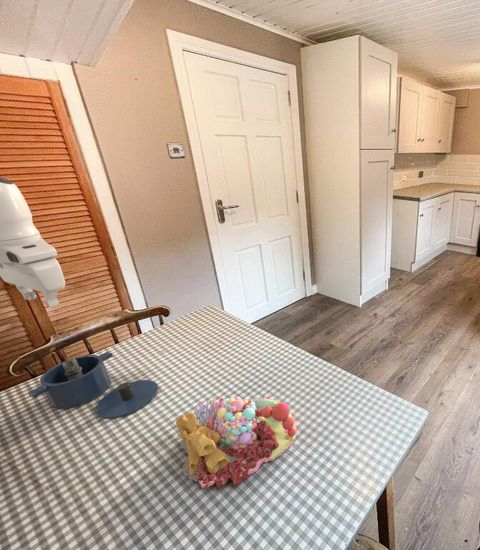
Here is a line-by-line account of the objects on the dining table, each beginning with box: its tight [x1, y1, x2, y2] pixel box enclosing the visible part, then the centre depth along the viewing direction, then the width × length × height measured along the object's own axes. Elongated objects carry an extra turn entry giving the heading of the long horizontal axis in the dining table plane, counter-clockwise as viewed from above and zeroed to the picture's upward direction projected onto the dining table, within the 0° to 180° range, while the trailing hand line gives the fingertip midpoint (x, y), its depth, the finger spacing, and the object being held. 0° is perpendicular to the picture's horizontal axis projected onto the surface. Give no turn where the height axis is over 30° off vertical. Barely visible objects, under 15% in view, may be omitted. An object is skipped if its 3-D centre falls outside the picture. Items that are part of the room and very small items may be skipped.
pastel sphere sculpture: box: [175, 394, 298, 492], centre depth 71 cm, size 25×24×9 cm
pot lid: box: [95, 379, 159, 420], centre depth 82 cm, size 14×14×5 cm
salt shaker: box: [62, 357, 83, 381], centre depth 83 cm, size 6×6×12 cm
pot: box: [27, 351, 114, 410], centre depth 84 cm, size 13×18×8 cm
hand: (42, 302), depth 75 cm, fingers open, 8 cm apart
